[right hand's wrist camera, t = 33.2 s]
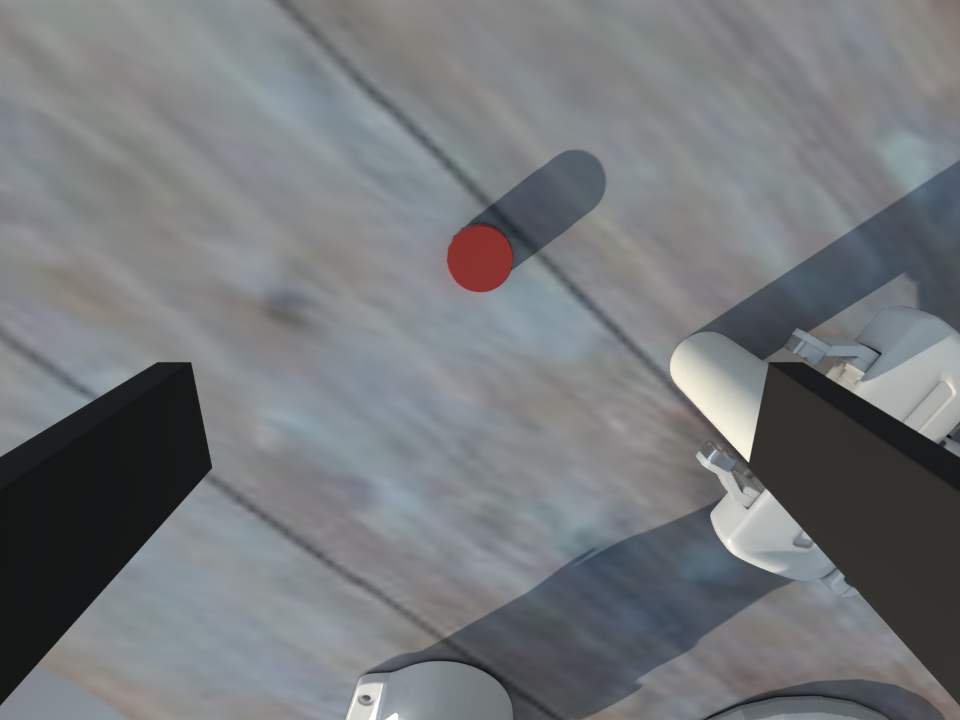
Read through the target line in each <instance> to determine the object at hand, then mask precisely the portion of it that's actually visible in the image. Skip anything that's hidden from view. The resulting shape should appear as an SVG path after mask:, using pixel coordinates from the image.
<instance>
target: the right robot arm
mask: <svg viewBox="0 0 960 720" xmlns="http://www.w3.org/2000/svg"><path fill="white" fill-rule="evenodd" d="M211 469H212V464H211V459H210V454H209V449H208V444H207V439H206V434H205V429H204V424H203V419H202V414H201V409H200V404H199V399H198V394H197V389H196V384H195V379H194V374H193V369H192V364H191V362H157V363H155V364H154V365H152V366H150V367H149V368H147V369H145V370H144V371H142V372H140V373H139V374H137V375H136V376H134V377H132V378H131V379H129V380H127V381H126V382H124V383H122V384H121V385H119V386H117V387H116V388H114V389H112V390H111V391H109V392H107V393H106V394H104V395H102V396H101V397H99V398H97V399H96V400H94V401H92V402H91V403H89V404H87V405H86V406H84V407H83V408H81V409H79V410H78V411H76V412H74V413H73V414H71V415H69V416H68V417H66V418H64V419H63V420H61V421H59V422H58V423H56V424H54V425H53V426H51V427H49V428H48V429H46V430H44V431H43V432H41V433H39V434H38V435H36V436H35V437H33V438H31V439H30V440H28V441H26V442H25V443H23V444H21V445H20V446H18V447H16V448H15V449H13V450H11V451H10V452H8V453H6V454H5V455H3V456H1V457H0V705H1V704H2V703H3V702H4V701H5V700H6V699H7V697H8V696H9V695H10V694H11V693H12V692H13V691H14V690H15V688H16V687H17V686H18V685H19V684H20V683H21V682H22V681H23V679H24V678H25V677H26V676H27V675H28V674H29V673H30V672H31V671H32V669H33V668H34V667H35V666H36V665H37V664H38V663H39V662H40V660H41V659H42V658H43V657H44V656H45V655H46V654H47V653H48V651H49V650H50V649H51V648H52V647H53V646H54V645H55V644H56V642H57V641H58V640H59V639H60V638H61V637H62V636H63V635H64V634H65V632H66V631H67V630H68V629H69V628H70V627H71V626H72V625H73V623H74V622H75V621H76V620H77V619H78V618H79V617H80V616H81V614H82V613H83V612H84V611H85V610H86V609H87V608H88V607H89V605H90V604H91V603H92V602H93V601H94V600H95V599H96V598H97V597H98V595H99V594H100V593H101V592H102V591H103V590H104V589H105V588H106V586H107V585H108V584H109V583H110V582H111V581H112V580H113V579H114V577H115V576H116V575H117V574H118V573H119V572H120V571H121V570H122V568H123V567H124V566H125V565H126V564H127V563H128V562H129V561H130V559H131V558H132V557H133V556H134V555H135V554H136V553H137V552H138V551H139V549H140V548H141V547H142V546H143V545H144V544H145V543H146V542H147V540H148V539H149V538H150V537H151V536H152V535H153V534H154V533H155V531H156V530H157V529H158V528H159V527H160V526H161V525H162V524H163V522H164V521H165V520H166V519H167V518H168V517H169V516H170V515H171V514H172V512H173V511H174V510H175V509H176V508H177V507H178V506H179V505H180V503H181V502H182V501H183V500H184V499H185V498H186V497H187V496H188V494H189V493H190V492H191V491H192V490H193V489H194V488H195V487H196V485H197V484H198V483H199V482H200V481H201V480H202V479H203V478H204V476H205V475H206V474H207V473H208V472H209V471H210V470H211ZM748 469H749V470H750V471H751V472H752V473H753V474H754V475H755V476H756V478H757V479H758V480H759V481H760V482H761V483H762V484H763V485H764V487H765V488H766V489H767V490H768V491H769V492H770V493H771V494H772V496H773V497H774V498H775V499H776V500H777V501H778V502H779V503H780V505H781V506H782V507H783V508H784V509H785V510H786V511H787V512H788V514H789V515H790V516H791V517H792V518H793V519H794V520H795V521H796V522H797V524H798V525H799V526H800V527H801V528H802V529H803V530H804V531H805V533H806V534H807V535H808V536H809V537H810V538H811V539H812V540H813V542H814V543H815V544H816V545H817V546H818V547H819V548H820V549H821V551H822V552H823V553H824V554H825V555H826V556H827V557H828V558H829V559H830V561H831V562H832V563H833V564H834V565H835V566H836V567H837V568H838V570H839V571H840V572H841V573H842V574H843V575H844V576H845V577H846V579H847V580H848V581H849V582H850V583H851V584H852V585H853V586H854V588H855V589H856V590H857V591H858V592H859V593H860V594H861V595H862V597H863V598H864V599H865V600H866V601H867V602H868V603H869V604H870V605H871V607H872V608H873V609H874V610H875V611H876V612H877V613H878V614H879V616H880V617H881V618H882V619H883V620H884V621H885V622H886V623H887V625H888V626H889V627H890V628H891V629H892V630H893V631H894V632H895V634H896V635H897V636H898V637H899V638H900V639H901V640H902V641H903V642H904V644H905V645H906V646H907V647H908V648H909V649H910V650H911V651H912V653H913V654H914V655H915V656H916V657H917V658H918V659H919V660H920V662H921V663H922V664H923V665H924V666H925V667H926V668H927V669H928V671H929V672H930V673H931V674H932V675H933V676H934V677H935V678H936V679H937V681H938V682H939V683H940V684H941V685H942V686H943V687H944V688H945V690H946V691H947V692H948V693H949V694H950V695H951V696H952V697H953V699H954V700H955V701H956V702H957V703H958V704H959V705H960V457H959V456H957V455H955V454H954V453H952V452H950V451H949V450H947V449H945V448H944V447H942V446H940V445H939V444H937V443H935V442H934V441H932V440H930V439H929V438H927V437H925V436H924V435H922V434H921V433H919V432H917V431H916V430H914V429H912V428H911V427H909V426H907V425H906V424H904V423H902V422H901V421H899V420H897V419H896V418H894V417H892V416H891V415H889V414H887V413H886V412H884V411H882V410H881V409H879V408H877V407H876V406H874V405H873V404H871V403H869V402H868V401H866V400H864V399H863V398H861V397H859V396H858V395H856V394H854V393H853V392H851V391H849V390H848V389H846V388H844V387H843V386H841V385H839V384H838V383H836V382H834V381H833V380H831V379H829V378H828V377H826V376H824V375H823V374H821V373H820V372H818V371H816V370H815V369H813V368H811V367H810V366H808V365H806V364H805V363H803V362H769V364H768V369H767V374H766V379H765V384H764V389H763V394H762V399H761V404H760V409H759V414H758V419H757V424H756V429H755V434H754V439H753V444H752V449H751V454H750V459H749V464H748Z"/></svg>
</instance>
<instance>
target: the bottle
mask: <svg viewBox="0 0 960 720" xmlns="http://www.w3.org/2000/svg"><path fill="white" fill-rule="evenodd" d="M767 369H768V364H766V363H765V362H763V361H762V360H760V359H759V358H757V357H756V356H754V355H753V354H751V353H750V352H748V351H747V350H745V349H744V348H742V347H741V346H739V345H738V344H736V343H735V342H733V341H732V340H730V339H729V338H727V337H726V336H724V335H722V334H720V333H717V332H710V331H707V332H700V333H696V334H694V335H691V336H690V337H688V338H686V339H685V340H684V341H682V342H681V343H680V344H679V346H678V347H677V348H676V350H675V351H674V353H673V355H672V358H671V363H670V371H671V375H672V378H673V380H674V382H675V383H676V384H677V385H678V387H679V388H680V389H681V390H682V391H683V392H684V393H685V394H686V395H687V396H688V397H689V398H690V400H691V401H692V402H693V403H694V404H695V405H696V406H697V407H698V408H699V409H700V410H701V411H702V413H703V414H704V415H705V416H706V417H707V418H708V419H709V420H710V421H711V422H712V423H713V424H714V426H715V427H716V428H717V429H718V430H719V431H720V432H721V433H722V434H723V435H724V436H725V437H726V438H727V440H728V441H729V442H730V443H731V444H732V445H733V446H734V447H735V448H736V449H737V450H738V451H739V453H740V454H741V455H742V456H743V457H744V458H745V459H746V460H747V461H748V462H749V459H750V454H751V449H752V444H753V439H754V434H755V429H756V424H757V419H758V414H759V409H760V404H761V399H762V394H763V389H764V384H765V379H766V374H767Z"/></svg>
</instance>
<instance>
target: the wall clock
mask: <svg viewBox="0 0 960 720" xmlns="http://www.w3.org/2000/svg"><path fill="white" fill-rule="evenodd" d="M707 720H889V719H888V718H887V717H886V716H884V715H883V714H881V713H879V712H877V711H874V710H872V709H869V708H867V707H865V706H862V705H860V704H857V703H855V702H852V701H846V700H840V699H834V698H827V697H821V696H799V697H777V698H773V699H768V700H764V701H759V702H755V703H750V704H746V705H741V706H738V707H736V708H733V709H731V710H729V711H726V712H724V713H722V714H719V715H717V716H714V717H712V718H710V719H707Z"/></svg>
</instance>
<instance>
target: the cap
mask: <svg viewBox="0 0 960 720" xmlns="http://www.w3.org/2000/svg"><path fill="white" fill-rule="evenodd" d="M513 257H514V256H513V253H512V249H511V244H510V242H509V241H508V240H507V238H506V236H505V234H504V232H503V233H502V232H501V231H500V230H499V229H498V228H496V227H495V226H492V225H489V224H485V223H484V222H483V223H475V224H473V223H472V224H471V225H468V226H466V227H464V228H462V229H461V230H460V231H459V232H458V233H457V234H456V235H454V237H453V240H452V242H451V245H449V248H448V256H447V263H448V268H449V271H450V273H451V275H452V277H453V278H454V280H455V281H456V282H457V283H458V284H459V285H460V286H462V287H463V288H465V289H467V290H470V291H474V292H487V291H490V290H493V289H495V288H497V287H498V286H500V285H501V284H502V283H503V282H504V281H505V280H506V279H507V277H508V276H509V274H510V272H511V269H512V265H513Z"/></svg>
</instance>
